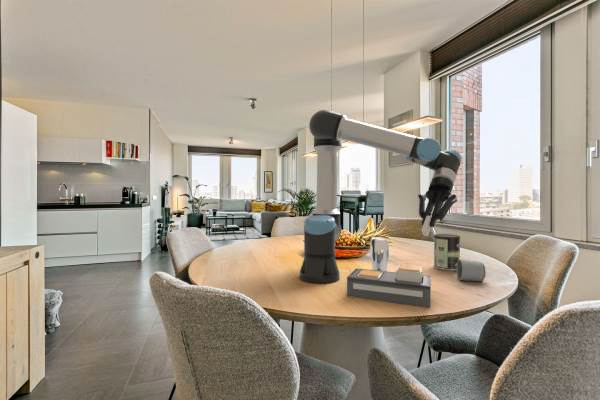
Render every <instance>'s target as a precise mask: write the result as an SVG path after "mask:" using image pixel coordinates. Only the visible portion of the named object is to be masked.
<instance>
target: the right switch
mask: <svg viewBox="0 0 600 400" xmlns="http://www.w3.org/2000/svg"><path fill="white" fill-rule="evenodd" d="M395 272H396V280H398V281H407V282H416V283H421V281H422V275H423V267H422V266H421V265H413V264H402V263H401V264H398V265H397V268H396V270H395Z"/></svg>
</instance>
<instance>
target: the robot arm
mask: <svg viewBox="0 0 600 400" xmlns="http://www.w3.org/2000/svg"><path fill="white" fill-rule="evenodd" d="M308 128H309V131H310V133H311V135H312V136H313V149H314V150H315V151H316V153H317V154H316V159H317V160H316V203H315V204H316V206H315V207H316V208H315V210H313V212H312V215H311V216H310V215H309V216H307V217H306V218H305V220H304V222H303V223H304V225H303V233H304V234H303V235H304V236H303V241H304V242H303V243H304V244H303V247H304V249H303V250H304V251H303V252H304V254H303V255H304V256H303V259H302V263H301V266H300V269H299V279H300V280H301V281H304V282H307V283H311V284H312V283H313V284H328V283H334V282H337V281H339V280H340V269H339V267H338V264H337V261H336V242H337V241H338V240H339V238H340V236H341V234H342V225H341V212H340V211H339V210H338V205H337V204H338V163H339V162H338V156H339V153H338V152H340V150H341V149H342V142H343V141H342V140H345V141H349V142H352V143H355V144H358V145H363V146H367V147H371V148H374V149H377V150H382V151H385V152H388V153H389V152H390V153H392V154H396V155H400V156H404V157H405V160H407V161H410V162H411V163H413V164H416V165H420V166H422V167H424V168H427V169H430V170H432V171H434V173H433V175H432V178H431V181H430V183H429V186H428V189H427V191H426V192H425V193H424V194H423V195H422V194H418V199H419V204H418V213H419V214H418V215H419V217H420V218H421V219H422V220H421V225H422V228H421V234H422V235H423V237H429V235H430V232H431V229H432V228H434V227H435V226H436V223H437V220H440V221H441V220H442V221H443V219H444V218H445V217H446V215H447V213H448V212H449V211H450V210H451V207H453V205H454V204H455V203H457V202H458V199H457V195H456V194H452V191H453V187H454V185H455V181H456V179H457V175H458V172H459V169H460V166H461V163H462V155H461V153H460V152H459V151H457V150H456V149H449V148H448V149H445V150H444V151H441V150H442V147H441V143H440V141H439V140H437V139H435V138H433V137H426V138H424V137H420V136H416V135H412V134H408V133H404V132H399V131H396V130H392V129H389V128H385V127H381V126H377V125H374V124H369V123H366V122H361V121H357V120H354V119H349V118H348V117H347V115H346V114H341V113H338V112H336V111H332V110H330V109H329V110H328V109H321V110H318V111H316V112H315V113H314V114H313V115H312V116H311V118H310V119H309V125H308ZM426 199H427V200H428V201H427V205H426Z"/></svg>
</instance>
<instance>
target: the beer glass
mask: <svg viewBox="0 0 600 400" xmlns="http://www.w3.org/2000/svg"><path fill="white" fill-rule="evenodd" d="M389 241H390V240H389V238H387V237H371V238H370V245H369V246H370V248H369V251H370V261H371V265H372V266H371V268H372V269H371V270H377V271H387V272H388V262H389V258H390V257H389V256H390V242H389Z"/></svg>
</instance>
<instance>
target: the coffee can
mask: <svg viewBox="0 0 600 400" xmlns="http://www.w3.org/2000/svg"><path fill="white" fill-rule="evenodd" d="M460 248H461V236H460V235H457V234H449V233H436V234H433V268H435V269H438V270H442V271H451V272H452V271H453V272H455V271H457V263H458V260H459V259H461V256H460V255H461V254H460V253H461V249H460Z"/></svg>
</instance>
